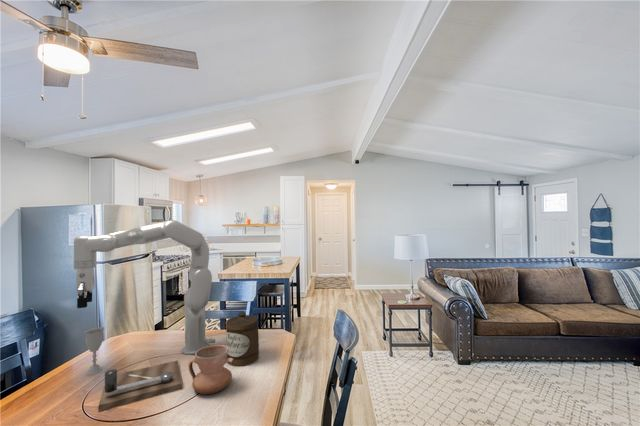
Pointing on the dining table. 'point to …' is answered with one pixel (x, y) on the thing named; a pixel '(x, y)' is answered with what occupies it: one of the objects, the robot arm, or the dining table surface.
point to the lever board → (142, 392)
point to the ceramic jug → (211, 369)
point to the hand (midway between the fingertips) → (84, 304)
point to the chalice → (94, 346)
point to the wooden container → (242, 339)
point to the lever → (113, 389)
